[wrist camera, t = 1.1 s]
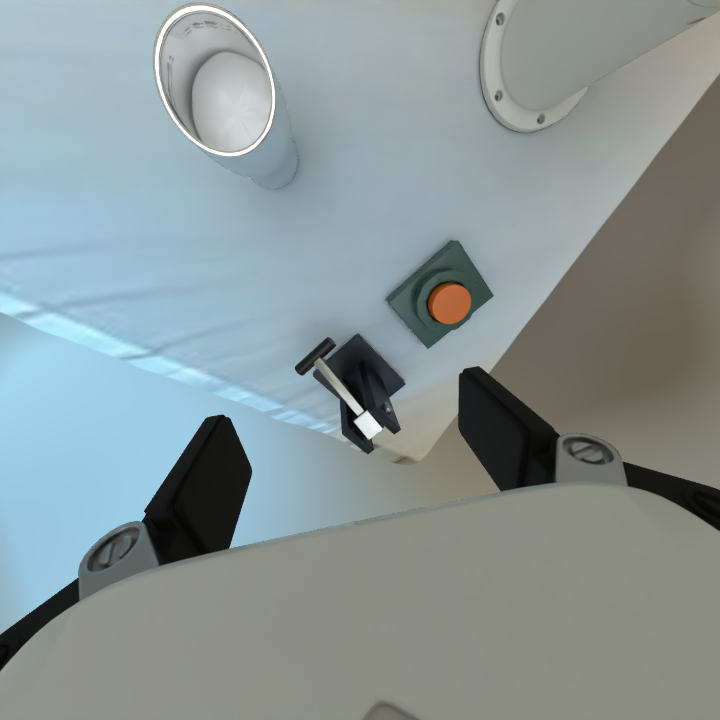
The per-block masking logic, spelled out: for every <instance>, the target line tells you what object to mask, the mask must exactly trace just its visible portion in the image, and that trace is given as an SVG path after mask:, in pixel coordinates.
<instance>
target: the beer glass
mask: <svg viewBox="0 0 720 720" xmlns="http://www.w3.org/2000/svg"><path fill="white" fill-rule="evenodd" d="M153 70H154V77H155V82H156V86H157V90H158V93H159V96H160V99H161V101H162V103H163V105H164V108H165V110H166V111H167V113H168V115H169V117H170V118H171V120H172V121H173V123H174V124H175V125H176V127H177V128H178V129H179V130H180V131H181V133H182V134H183V135H184V136H185V137H186V138H187V139H189V140H190V141H191V142H192V143H193V144H195V145H196V146H197V147H198V148H199V149H200V150H202V151H203V152H204V153H205V154H206V155H207V156H208V157H210V158H211V159H212V160H214V161H215V162H216V163H218V164H219V165H221V166H222V167H224V168H226V169H227V170H229V171H231V172H233V173H235V174H238V175H241V176H245V177H250V178H251V179H252V180H253V181H254V182H255V183H257V184H258V185H260V186H262V187H265V188H269V189H277V188H281V187H283V186H285V185H287V184H288V183H289V182H290V181H291V180H292V178H293V177H294V175H295V173H296V170H297V166H298V153H297V148H296V145H295V142H294V140H293V138H292V136H291V123H290V116H289V112H288V108H287V104H286V100H285V97H284V94H283V92H282V89H281V86H280V84H279V82H278V79H277V77H276V75H275V73H274V71H273V69H272V67H271V65H270V63H269V60H268V58H267V56H266V54H265V51H264V50H263V48H262V46H261V44H260V43H259V41H258V40H257V38H256V37H255V35H254V34H253V33H252V32H251V30H250V29H249V28H248V27H247V26H246V25H245V24H244V23H243V22H242V21H241V20H240V19H239V18H237V17H236V16H235V15H233V14H232V13H230V12H229V11H227V10H225V9H223V8H221V7H219V6H216V5H213V4H209V3H202V2H197V3H189V4H186V5H183V6H181V7H179V8H177V9H176V10H174V11H173V12H172V13H171V14H170V15H169V16H168V17H167V18H166V19H165V20H164V22H163V23H162V25H161V27H160V29H159V31H158V34H157V36H156V40H155V44H154V51H153Z"/></svg>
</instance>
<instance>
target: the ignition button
mask: <svg viewBox="0 0 720 720" xmlns="http://www.w3.org/2000/svg"><path fill="white" fill-rule="evenodd" d="M470 306H471V297H470V294H469V292H468V290H467V289H466V288H464V287H463V286H460V285H458V284H455V283H444V284H441V285H439V286H438V287H436V288H435V289H434V290H433V292H432V293H431V295H430V297H429V300H428V309H429V312H430V314H431V315H432V316H433V317H434V318H435V319H437V320H438V321H439V322H441V323H443V324H453V323H456V322H458V321H460V320H462V319H463V318H464V317H465V316H466V314H467V313H468V311H469V309H470Z"/></svg>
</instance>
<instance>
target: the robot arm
mask: <svg viewBox="0 0 720 720" xmlns="http://www.w3.org/2000/svg"><path fill="white" fill-rule="evenodd" d="M718 11H720V0H498V1H497V3H496V5H495V7H494V9H493V12H492V14H491V16H490V18H489V21H488V24H487V27H486V30H485V33H484V38H483V43H482V48H481V57H480V76H481V85H482V90H483V94H484V98H485V100H486V102H487V105H488V107H489V109H490V111H491V112H492V114H493V115H494V116H495V118H496V119H497V120H498V121H499V122H500V123H501V124H503V125H504V126H506V127H507V128H509V129H511V130H514V131H519V132H534V131H537V130H540V129H543V128H545V127H547V126H550V125H552V124H554V123H555V122H557V121H558V120H560V119H561V118H563V117H564V116H565V115H566V114H568V113H569V112H570V111H571V110H572V109H573V108H574V107H575V106H576V105H577V103H578V102H579V101H580V100H581V98H582V97H583V96H584V94H585V93H586V91H587V89H588V88H589V86H590V85H591V84H592V83H594V82H596V81H597V80H599V79H601V78H603V77H604V76H606V75H608V74H610V73H611V72H613V71H615V70H617V69H618V68H620V67H622V66H624V65H625V64H627V63H629V62H631V61H632V60H634V59H636V58H638V57H640V56H641V55H643V54H645V53H647V52H648V51H650V50H652V49H654V48H655V47H657V46H659V45H661V44H662V43H664V42H666V41H668V40H669V39H671V38H673V37H675V36H676V35H678V34H680V33H682V32H683V31H685V30H687V29H689V28H690V27H692V26H694V25H696V24H697V23H699V22H701V21H703V20H704V19H706V18H708V17H710V16H711V15H713V14H715V13H717V12H718ZM495 97H496V100H495ZM458 416H459V417H458V427H459V430H460V433H461V435H462V436H463V438H464V439H465V440H466V442H467V443H468V445H469V446H470V448H471V449H472V450H473V452H474V453H475V455H476V456H477V458H478V459H479V461H480V462H481V464H482V465H483V466H484V468H485V469H486V471H487V472H488V473H489V475H490V476H491V478H492V479H493V481H494V482H495V483H496V485H497V486H498V488H499V489H500V491H501V492H496V493H491V494H485V495H480V496H475V497H470V498H466V499H461V500H456V501H451V502H446V503H441V504H436V505H431V506H427V507H422V508H417V509H412V510H407V511H402V512H397V513H393V514H388V515H384V516H378V517H374V518H369V519H364V520H360V521H355V522H350V523H345V524H341V525H336V526H331V527H327V528H323V529H317V530H313V531H308V532H304V533H299V534H294V535H290V536H285V537H280V538H276V539H271V540H267V541H262V542H258V543H253V544H249V545H244V546H239V547H235V548H231V549H229V547H230V544H231V541H232V537H233V534H234V531H235V528H236V525H237V521H238V518H239V515H240V512H241V508H242V505H243V502H244V498H245V495H246V492H247V489H248V485H249V482H250V479H251V476H252V468H251V465H250V463H249V461H248V458H247V456H246V454H245V451H244V449H243V447H242V444H241V442H240V440H239V437H238V435H237V433H236V430H235V428H234V426H233V424H232V422H231V419H230V418H229V417H225V416H224V415H217V416H211V417H207V418H206V419H205V420H204V422H203V423H202V425H201V426H200V428H199V429H198V431H197V432H196V434H195V435H194V437H193V438H192V440H191V441H190V443H189V444H188V446H187V447H186V449H185V450H184V452H183V453H182V455H181V456H180V458H179V459H178V461H177V463H176V464H175V466H174V467H173V468H172V470H171V471H170V473H169V474H168V476H167V477H166V479H165V480H164V482H163V484H162V485H161V486H160V488H159V489H158V491H157V492H156V494H155V495H154V497H153V498H152V500H151V502H150V503H149V504H148V506H147V508H146V509H145V511H144V512H145V514H146V515H145V517H144V519H143V520H142V522H139V521H134V522H129V523H126V524H124V525H121V526H119V527H117V528H115V529H114V530H112V531H110V532H109V533H108V534H106V535H105V536H103V537H102V538H101V539H100V540H99V541H98V542H96V543H95V544H94V545H93V546H92V548H91V549H90V550H89V551H88V552H87V553H86V555H85V556H84V558H83V560H82V561H81V563H80V566H79V571H78V576H79V578H77V579H76V580H74V581H73V582H72V583H70V584H69V585H68V586H66V587H65V588H63V589H62V590H61V591H59V592H58V593H57V594H55V595H54V596H52V597H51V598H50V599H48V600H47V601H46V602H44V603H43V604H42V605H40V606H39V607H37V608H36V609H35V610H33V611H32V612H31V613H29V614H28V615H26V616H25V617H24V618H22V619H21V620H20V621H18V622H17V623H16V624H14V625H13V626H11V627H10V628H9V629H8V630H6V631H5V632H3V633H2V634H1V635H0V720H720V490H718V489H716V488H713V487H710V486H706V485H703V484H699V483H696V482H692V481H689V480H685V479H682V478H678V477H675V476H671V475H668V474H664V473H661V472H657V471H654V470H650V469H647V468H643V467H640V466H636V465H633V464H629V463H626V462H622V458H621V456H620V454H619V452H618V451H617V450H616V449H615V448H614V447H613V446H612V445H611V444H609V443H607V442H606V441H604V440H602V439H600V438H598V437H595V436H592V435H588V434H584V433H577V432H576V433H566V434H562V435H561V436H560V435H559V434H558V433H557V432H555V431H554V428H553V427H552V426H550V425H549V424H548V423H547V422H546V421H544V420H543V419H542V418H541V417H539V416H538V415H537V414H536V413H535V412H534V411H532V410H531V409H530V408H528V406H526V405H525V404H524V403H523V402H522V401H520V400H519V399H518V398H517V397H516V396H514V395H513V394H512V393H510V392H509V391H508V390H507V389H506V388H505V387H503V386H502V385H501V384H500V383H499V382H497V381H496V380H495V379H494V378H493V377H491V376H490V375H489V374H488V373H487V372H485V371H484V370H483V369H482V368H481V367H479V366H477V367H472V368H466V369H464V370H463V373H460V375H459V414H458Z"/></svg>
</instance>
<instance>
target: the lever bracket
mask: <svg viewBox="0 0 720 720" xmlns="http://www.w3.org/2000/svg"><path fill="white" fill-rule="evenodd" d="M326 362H327V363H328V364H329V365H330V366H331V368H332V369H333V370H334V371H335V372H336V374H337V375H338V376H339V377H340V378H341V379H342V381H343V382H344V383H345V384H346V385H347V387H348V388H349V389H350V390H351V391H352V393H353V394H354V395H355V396H356V397H357V399H358V400H359V401H360V402H361V403H362V405H363V406H364V407H365V408H366V407H368V409H369V413H370V414H372V415H373V416H374V417H375V418H376V419H377V420H378V421H380V422H381V423H382V424H383V425H384V426H385V427H386V428H387V429H389V430H390V431H391V432H392V433H393V434H396V433H397V432H398V431H400V430H401V429H400V426H399V423H398V421H397V418H396V415H395V412H394V410H393V407H392V404H391V402H390V399H389V397H390V396H392V395H393V394H394V393H395V392H397V391H398V390H399V389H400V388H402V387H403V386H404V385H405V382H404V380H403V379H402V378H401V377H400V376H399V375H398V374H397V373H396V372H395V371H394V370H393V369H392V368H391V367H390V366H389V365H388V364H387V363H386V362H385V361H384V360H383V359H382V358H381V357H380V356H379V355H378V354H377V353H376V352H375V351H374V350H373V349H372V348H371V346H370V345H369V344H368V343H367V342H366V341H365V340H364V339H363V338H362V337H361V336H360V335H359V334H357V335H355V336H354V337H353V338H352V339H351V340H350V341H349V342H348V343H346V344H345V345H344V346H343V347H342V348H341V349H340V350H338V351H337V352H336V353H335V354H334V355H333V356H332V357H331V358H329V359H328V360H327V361H326ZM313 377H314V378H316V379H317V380H318V381H319V382H320V383H321V384H323V385H324V386H325V387H326V388H327V389H328V390H330V391H331V392H332V393H333V394H334V395H335V396H337V397H338V398H339V399H340V409H341V424H342V434H343V435H344V436H345V437H346V438H348V439H349V440H350V441H352V442H353V443H354V444H355V445H357V446H358V447H359V448H360V449H362V450H363V451H364V452H366V453H367V454H369V453H370V452H372V451H373V450H374V448H373V443H372V438H371V439H370V440H368V439H367V438H366V436H365V435H364V434H363V433H362V432H361V430H360V429H359V428H358V427H357V426H356V424H355V423H354V422H353V421H354V419H355V418H356V416H357V415H356V414H355V413H354V411H353V410H352V409H351V408H350V407H349V405H348V404H347V403H346V402H345V401H344V399H343V398H342V397H341V396H340V395H339V393H338V392H337V391H336V390H335V389H334V387H333V386H332V385H331V384H330V383H329V381H328V380H327V379H326V378H325V377H324V375H323V374H322V373H321V372H320V371H319V369H317V370H316V371H315V372H314V373H313Z"/></svg>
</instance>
